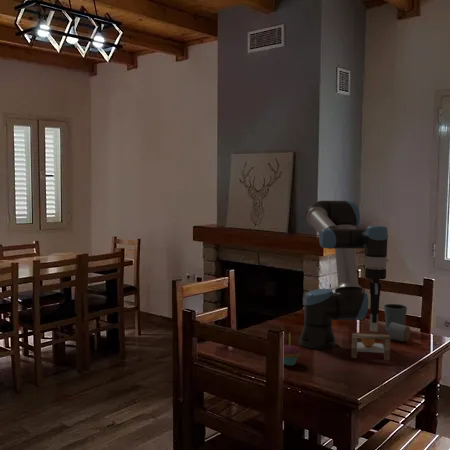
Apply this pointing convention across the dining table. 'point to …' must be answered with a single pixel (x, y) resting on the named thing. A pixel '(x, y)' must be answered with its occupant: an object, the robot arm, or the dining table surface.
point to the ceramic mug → (398, 332)
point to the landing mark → (370, 348)
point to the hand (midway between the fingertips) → (373, 330)
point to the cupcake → (291, 353)
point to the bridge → (371, 336)
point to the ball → (368, 342)
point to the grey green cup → (394, 314)
